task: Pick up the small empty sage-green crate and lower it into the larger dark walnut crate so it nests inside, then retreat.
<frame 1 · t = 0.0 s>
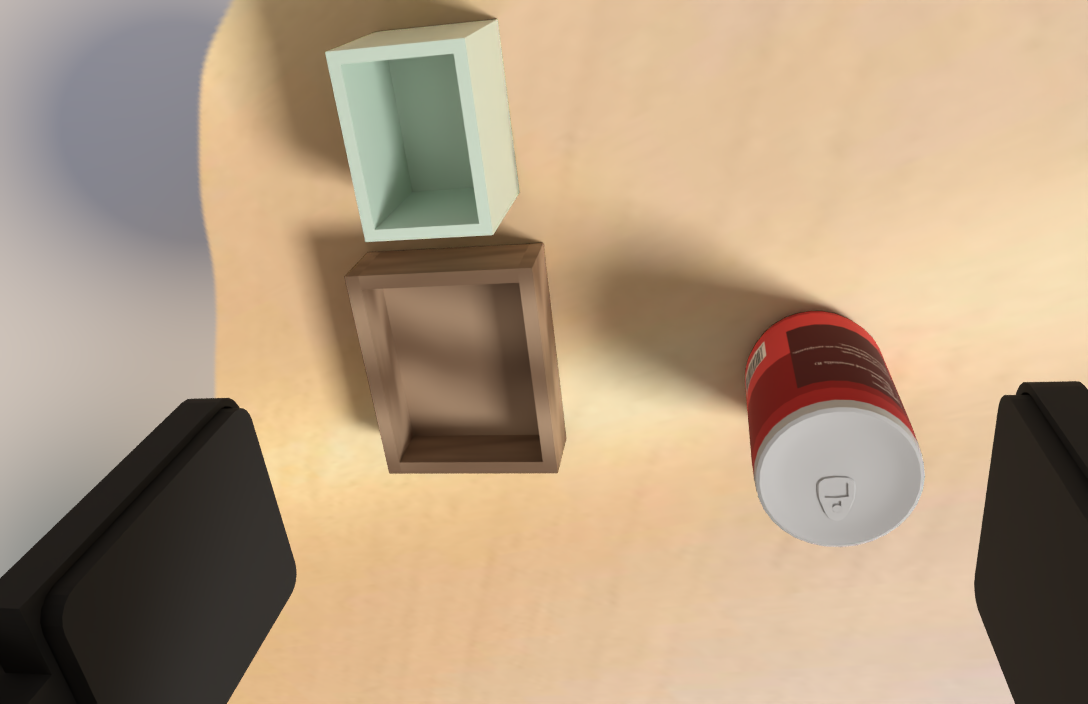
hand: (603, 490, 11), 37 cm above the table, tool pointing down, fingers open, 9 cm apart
small crate: (449, 114, 46), on the table
large crate: (470, 348, 53), on the table
canned food: (811, 367, 50), on the table
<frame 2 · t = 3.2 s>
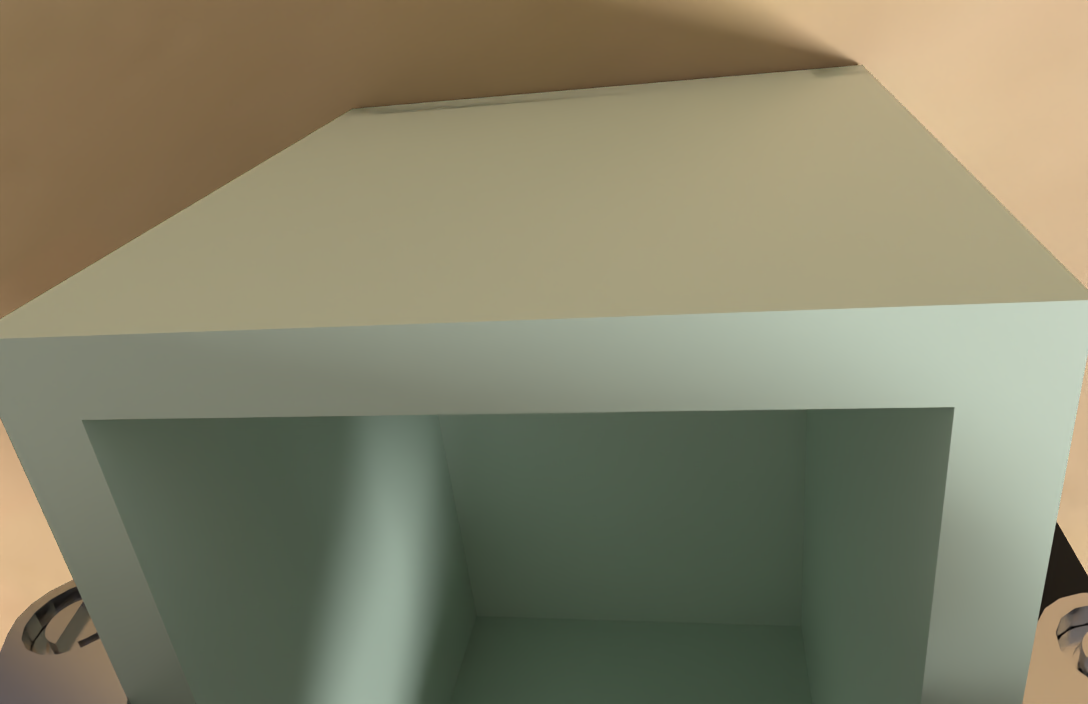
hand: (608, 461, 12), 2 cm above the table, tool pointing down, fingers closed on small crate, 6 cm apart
small crate: (618, 395, 13), on the table, touching gripper
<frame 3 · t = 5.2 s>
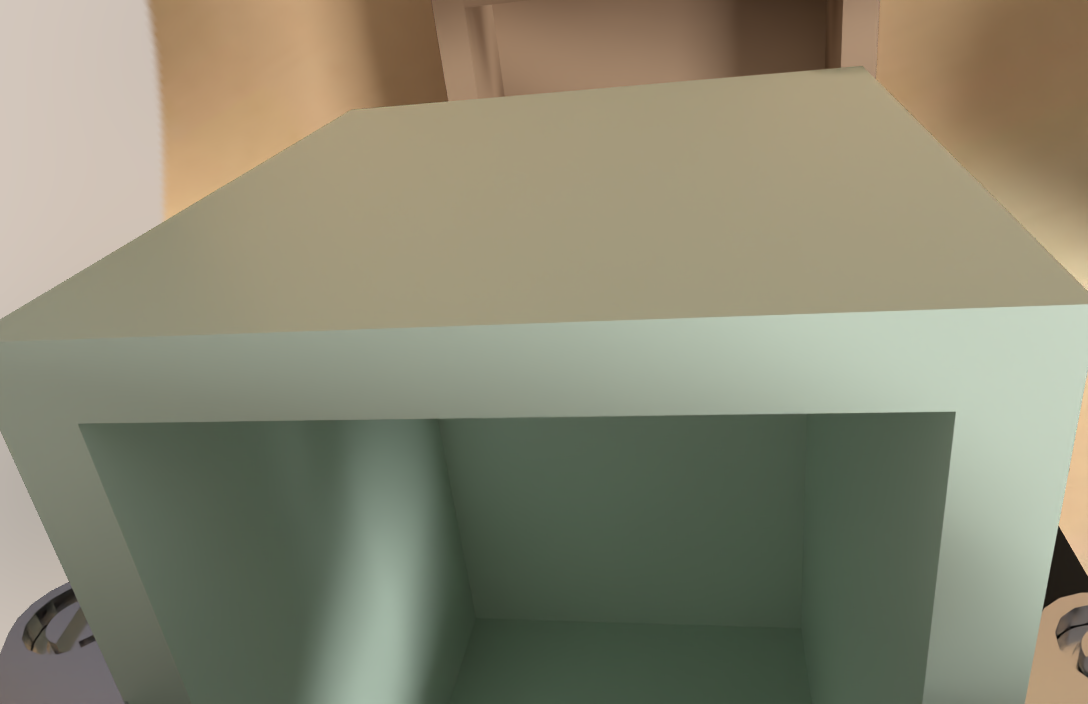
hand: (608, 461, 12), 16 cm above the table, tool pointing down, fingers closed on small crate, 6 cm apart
small crate: (618, 397, 13), point 15 cm above the table, touching gripper
large crate: (666, 175, 26), on the table
when the fingers open (5 cm above the table, at t = 7.1 s): small crate drops 2 cm, resting on large crate.
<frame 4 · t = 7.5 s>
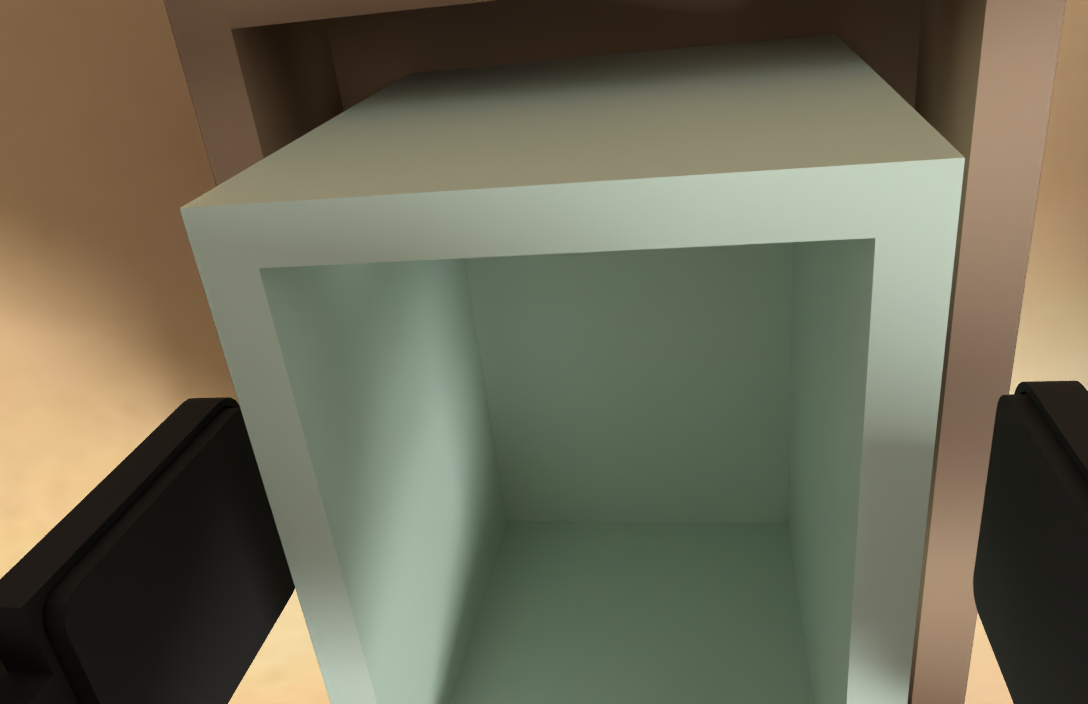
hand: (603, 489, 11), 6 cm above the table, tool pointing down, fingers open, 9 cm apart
small crate: (631, 321, 15), point 1 cm above the table, touching large crate
large crate: (633, 306, 16), on the table
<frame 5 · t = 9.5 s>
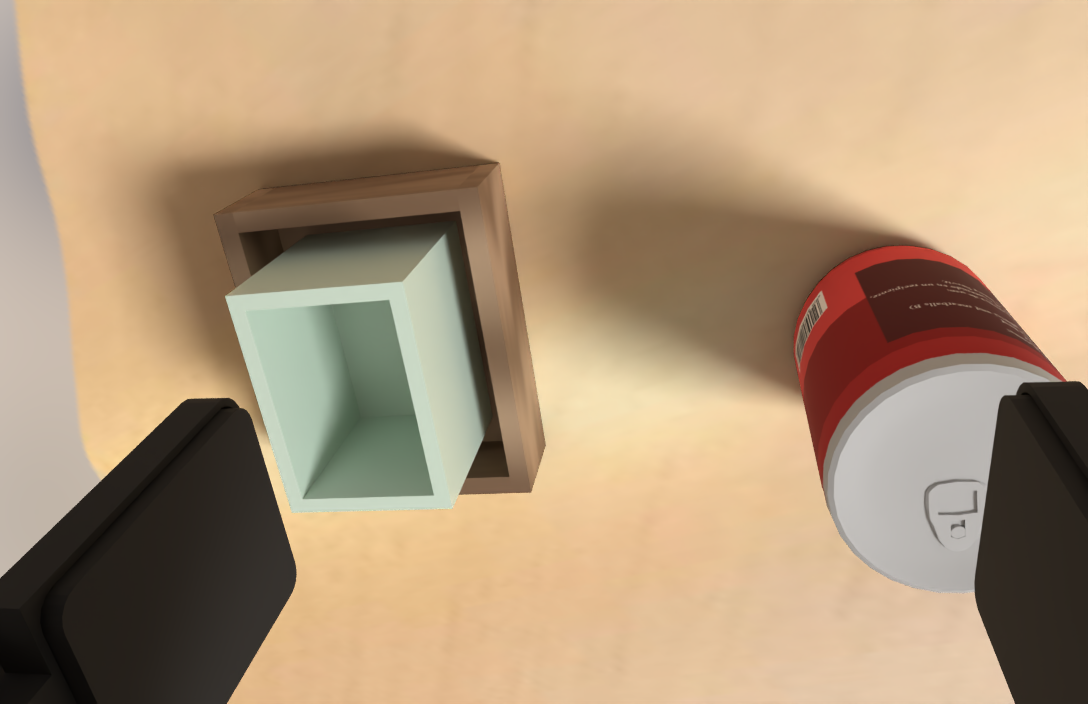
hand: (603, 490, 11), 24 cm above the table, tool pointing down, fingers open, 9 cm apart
small crate: (402, 328, 37), point 1 cm above the table, touching large crate
large crate: (407, 322, 38), on the table
canned food: (888, 331, 35), on the table
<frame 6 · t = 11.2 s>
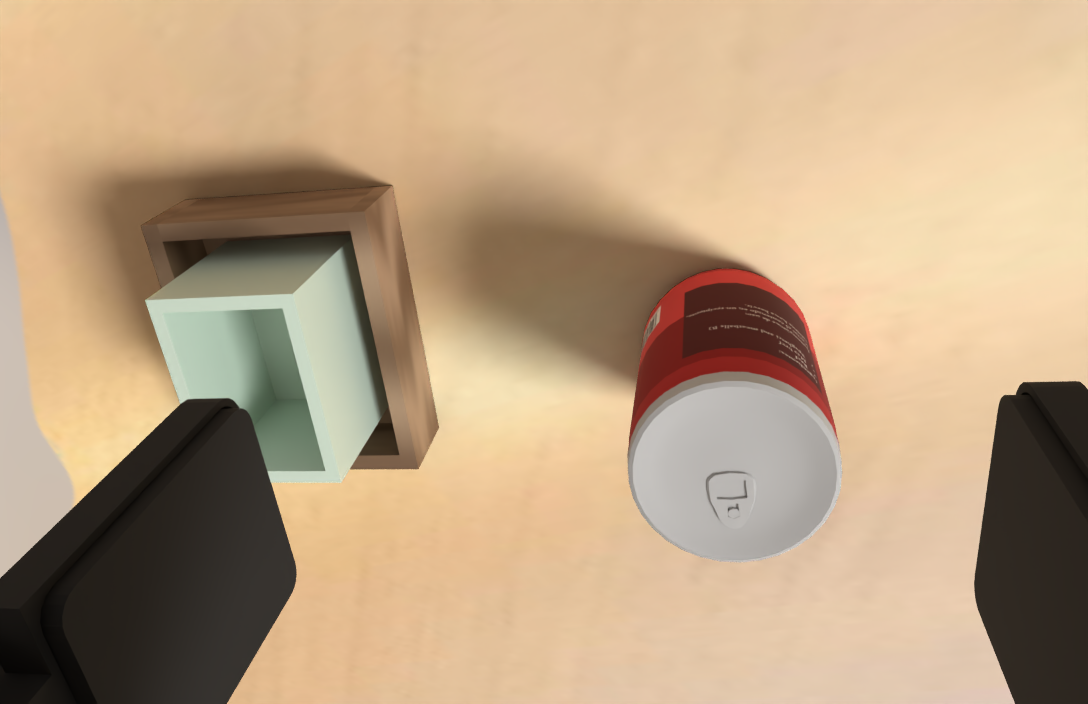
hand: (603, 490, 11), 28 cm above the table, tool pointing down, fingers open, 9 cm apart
small crate: (311, 324, 43), point 1 cm above the table, touching large crate
large crate: (317, 318, 44), on the table
canned food: (724, 339, 41), on the table
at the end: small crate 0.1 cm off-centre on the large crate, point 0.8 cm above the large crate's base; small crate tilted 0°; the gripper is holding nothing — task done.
